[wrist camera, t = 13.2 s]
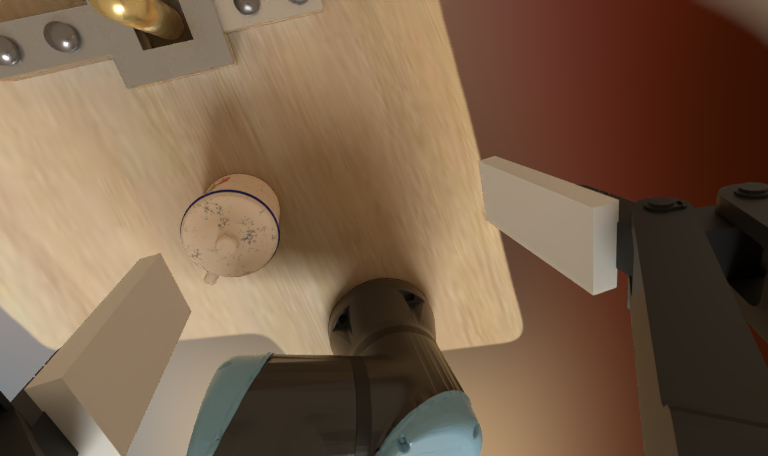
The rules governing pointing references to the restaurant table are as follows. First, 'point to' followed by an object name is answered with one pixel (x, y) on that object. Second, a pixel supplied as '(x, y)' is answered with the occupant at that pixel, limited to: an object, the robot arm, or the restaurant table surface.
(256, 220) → the teacup with lid
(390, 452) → the robot arm
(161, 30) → the brass pin
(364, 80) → the restaurant table surface
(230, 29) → the studded slotted bracket
